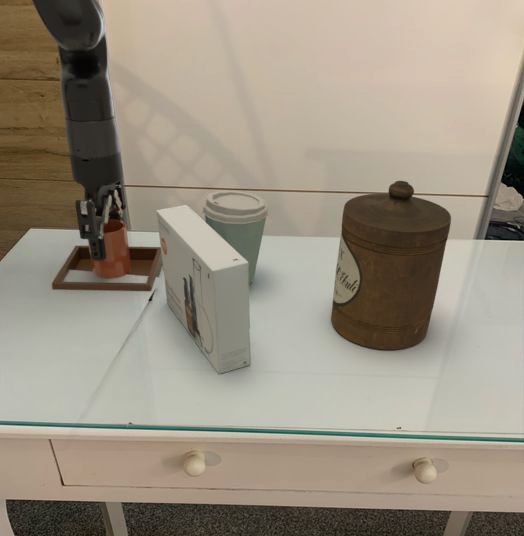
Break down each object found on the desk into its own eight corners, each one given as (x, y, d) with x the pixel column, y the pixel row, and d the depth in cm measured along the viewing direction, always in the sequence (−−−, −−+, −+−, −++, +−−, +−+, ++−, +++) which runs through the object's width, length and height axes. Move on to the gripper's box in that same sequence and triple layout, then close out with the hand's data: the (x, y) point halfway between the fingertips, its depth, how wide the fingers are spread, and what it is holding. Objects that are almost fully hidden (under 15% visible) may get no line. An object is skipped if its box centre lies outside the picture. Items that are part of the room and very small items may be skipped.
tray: (54, 299, 89) (51, 283, 88) (78, 259, 101) (75, 245, 100) (151, 300, 90) (150, 285, 88) (163, 261, 102) (162, 247, 100)
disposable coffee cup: (237, 261, 102) (237, 181, 94) (279, 282, 96) (283, 198, 88) (192, 279, 96) (188, 195, 88) (234, 302, 90) (234, 214, 81)
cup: (88, 282, 93) (79, 232, 88) (101, 266, 98) (94, 217, 93) (124, 285, 92) (118, 235, 87) (136, 269, 97) (131, 220, 92)
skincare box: (163, 304, 89) (154, 208, 80) (194, 297, 91) (190, 203, 82) (215, 376, 74) (212, 268, 65) (251, 366, 76) (254, 260, 67)
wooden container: (337, 294, 93) (353, 161, 81) (428, 307, 90) (459, 172, 78) (322, 341, 81) (339, 194, 69) (426, 358, 79) (462, 208, 66)
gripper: (88, 135, 89) (102, 230, 98) (49, 160, 78) (69, 265, 87) (133, 137, 89) (143, 233, 98) (101, 163, 77) (115, 269, 86)
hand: (108, 248), depth 92 cm, fingers open, 8 cm apart
